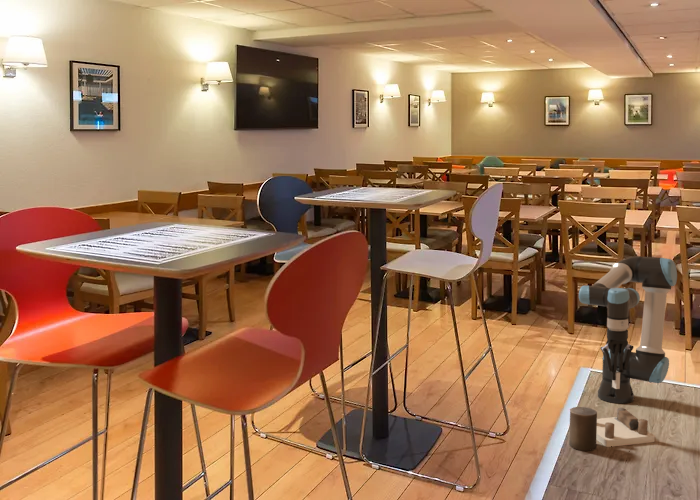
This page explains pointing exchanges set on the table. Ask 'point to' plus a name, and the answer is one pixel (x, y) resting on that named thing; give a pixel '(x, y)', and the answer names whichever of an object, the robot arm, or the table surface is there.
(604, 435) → the stool seat
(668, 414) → the table surface
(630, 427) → the folding leg
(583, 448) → the pillar candle
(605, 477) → the table surface
